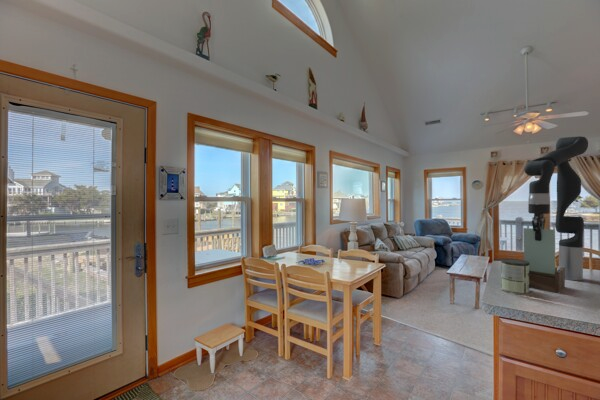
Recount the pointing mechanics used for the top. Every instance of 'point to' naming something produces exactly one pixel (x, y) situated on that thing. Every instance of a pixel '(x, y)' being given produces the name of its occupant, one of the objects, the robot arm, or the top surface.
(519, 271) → the coffee can
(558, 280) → the rack
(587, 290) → the top surface
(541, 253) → the tall sheet
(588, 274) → the top surface
